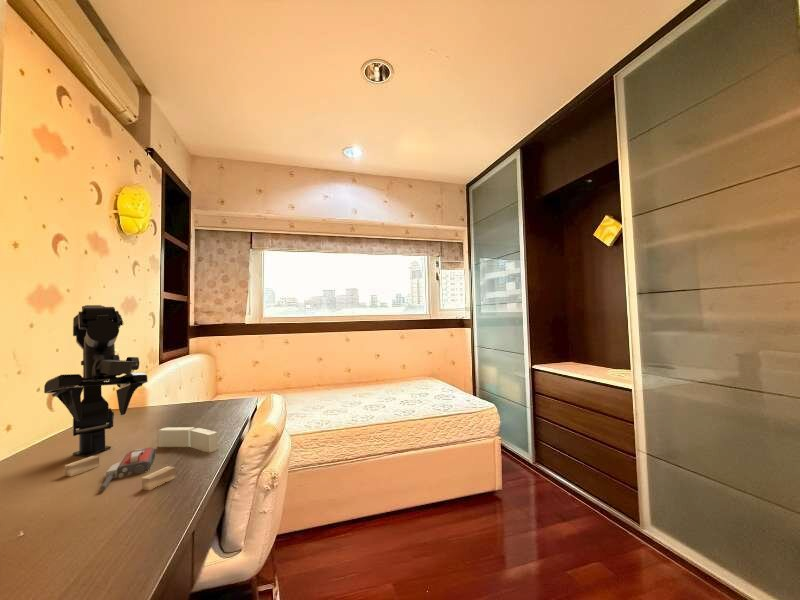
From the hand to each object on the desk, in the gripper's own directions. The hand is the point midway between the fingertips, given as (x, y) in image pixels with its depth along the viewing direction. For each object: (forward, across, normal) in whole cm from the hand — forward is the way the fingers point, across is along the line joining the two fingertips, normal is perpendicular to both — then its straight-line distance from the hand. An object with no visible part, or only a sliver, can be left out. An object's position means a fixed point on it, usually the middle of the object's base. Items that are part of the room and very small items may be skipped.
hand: (101, 417), depth 80 cm
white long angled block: (+12, +24, +4) cm, 27 cm away
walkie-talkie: (+14, +9, +5) cm, 18 cm away
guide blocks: (+14, +6, +5) cm, 16 cm away
